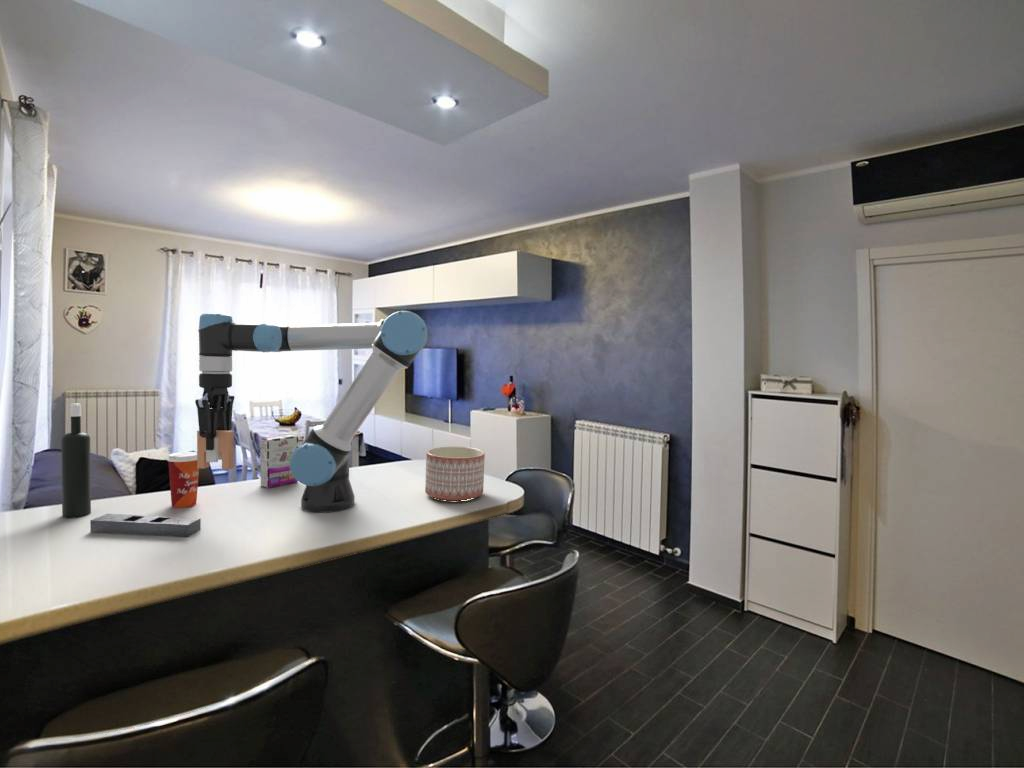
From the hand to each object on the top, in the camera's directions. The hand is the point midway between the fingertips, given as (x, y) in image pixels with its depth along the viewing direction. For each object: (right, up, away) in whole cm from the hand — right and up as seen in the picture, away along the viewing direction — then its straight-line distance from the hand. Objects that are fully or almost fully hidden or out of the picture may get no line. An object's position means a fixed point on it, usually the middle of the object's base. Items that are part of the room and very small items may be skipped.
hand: (215, 460), depth 132 cm
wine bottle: (-38, -15, +1) cm, 41 cm away
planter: (+60, -17, +33) cm, 70 cm away
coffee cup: (-17, -15, +12) cm, 25 cm away
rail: (-12, -16, -9) cm, 22 cm away
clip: (0, -2, 0) cm, 2 cm away
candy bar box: (-1, -14, +38) cm, 40 cm away
